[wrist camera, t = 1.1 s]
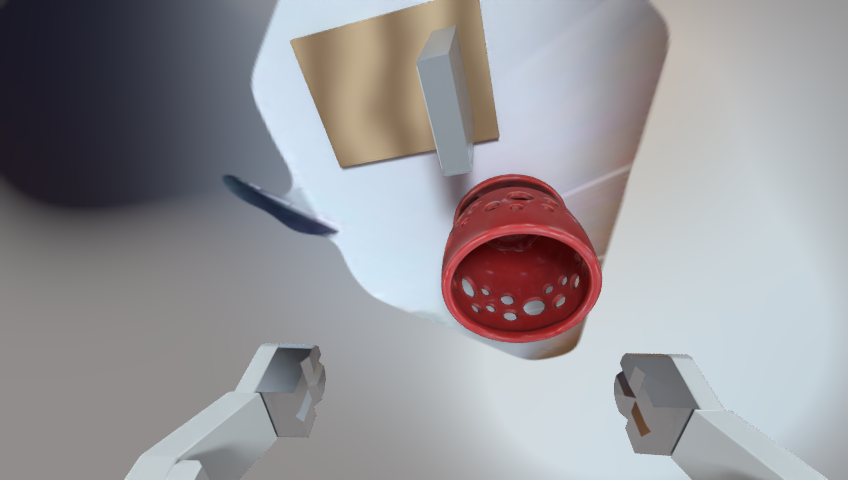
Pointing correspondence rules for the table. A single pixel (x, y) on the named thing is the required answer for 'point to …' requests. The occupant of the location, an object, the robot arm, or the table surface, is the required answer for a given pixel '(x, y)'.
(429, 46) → the tile
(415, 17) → the cork mat
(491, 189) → the plant pot
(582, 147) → the table surface
